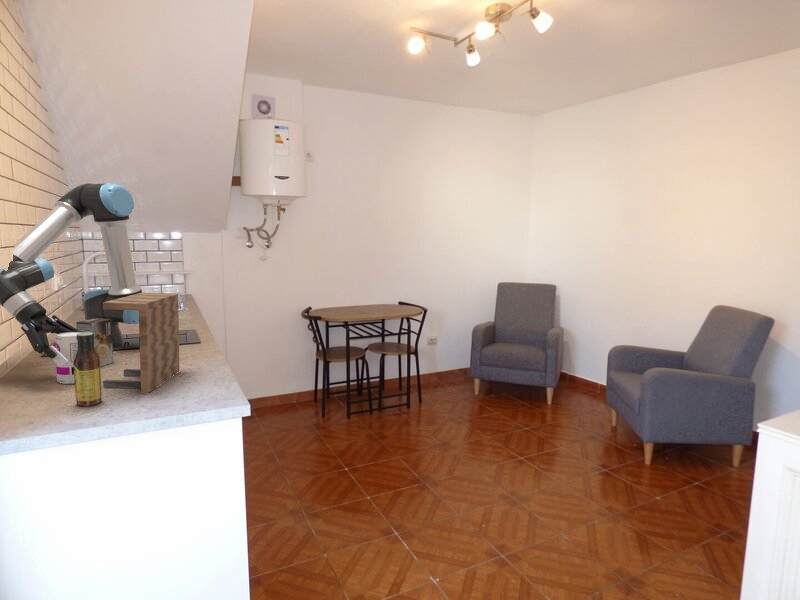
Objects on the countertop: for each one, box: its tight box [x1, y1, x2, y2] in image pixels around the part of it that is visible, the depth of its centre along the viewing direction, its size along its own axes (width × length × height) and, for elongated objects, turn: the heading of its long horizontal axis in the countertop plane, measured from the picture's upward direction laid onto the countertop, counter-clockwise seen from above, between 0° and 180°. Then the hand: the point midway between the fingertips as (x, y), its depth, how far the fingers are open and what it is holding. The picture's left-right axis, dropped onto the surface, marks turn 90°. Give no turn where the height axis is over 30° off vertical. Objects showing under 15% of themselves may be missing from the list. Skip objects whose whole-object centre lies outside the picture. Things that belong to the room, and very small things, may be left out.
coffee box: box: [75, 318, 114, 368], centre depth 175 cm, size 9×6×16 cm
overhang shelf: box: [102, 292, 181, 394], centre depth 157 cm, size 24×16×27 cm, turn 3°
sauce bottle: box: [73, 332, 103, 407], centre depth 137 cm, size 7×6×20 cm
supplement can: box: [54, 332, 82, 385], centre depth 156 cm, size 8×8×15 cm
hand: (78, 358), depth 156 cm, fingers open, 13 cm apart
